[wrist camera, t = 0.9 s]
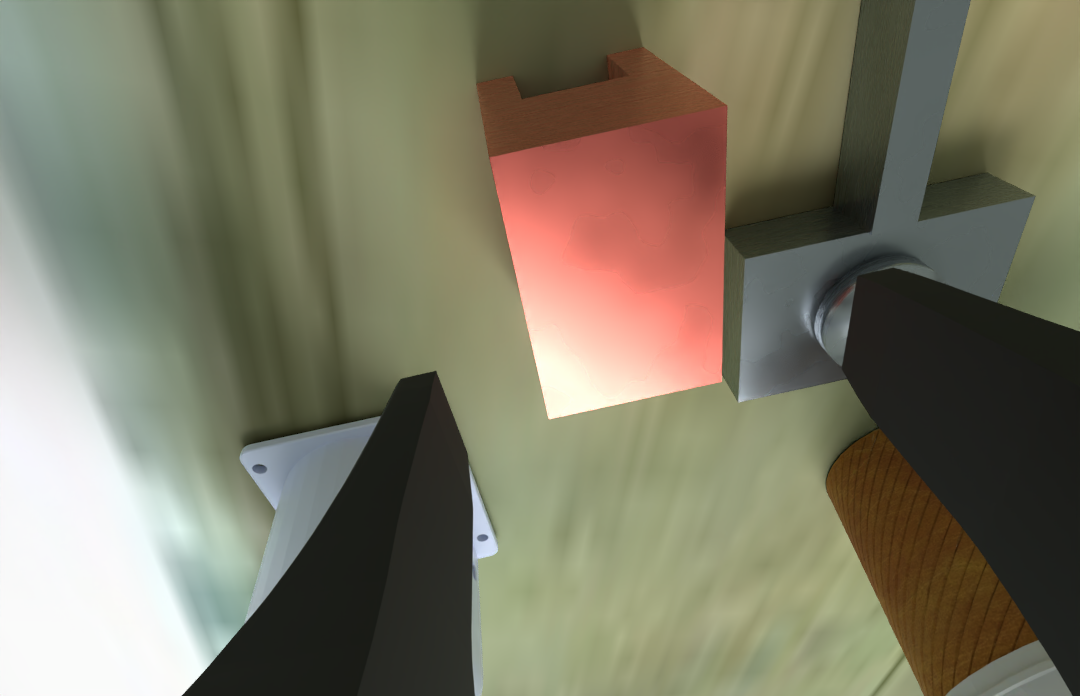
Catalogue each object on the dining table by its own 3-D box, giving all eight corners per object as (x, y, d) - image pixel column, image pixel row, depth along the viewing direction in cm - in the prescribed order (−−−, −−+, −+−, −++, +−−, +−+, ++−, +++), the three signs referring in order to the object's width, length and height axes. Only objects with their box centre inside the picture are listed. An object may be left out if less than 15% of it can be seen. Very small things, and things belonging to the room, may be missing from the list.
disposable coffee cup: (996, 356, 25) (1342, 637, 15) (987, 485, 30) (1236, 750, 21) (776, 441, 26) (966, 746, 17) (806, 549, 32) (962, 825, 22)
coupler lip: (943, 319, 23) (996, 363, 21) (718, 368, 23) (747, 417, 21) (1096, -190, 14) (1219, -210, 12) (725, -110, 14) (778, -113, 12)
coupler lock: (656, 269, 20) (721, 381, 15) (524, 298, 20) (549, 418, 15) (642, 47, 16) (727, 105, 11) (476, 83, 16) (489, 157, 11)
